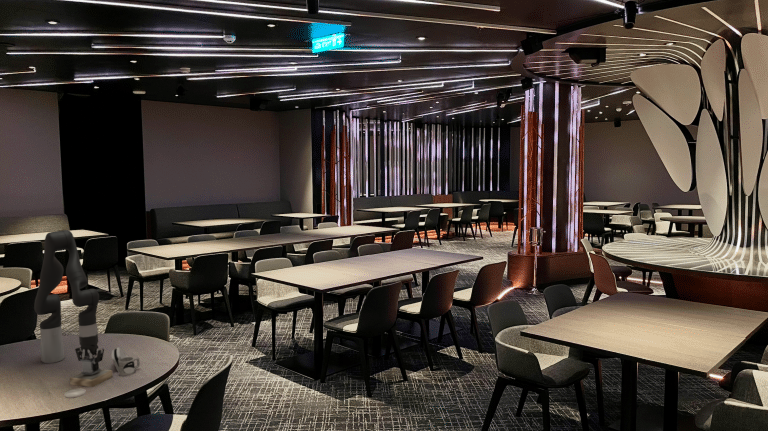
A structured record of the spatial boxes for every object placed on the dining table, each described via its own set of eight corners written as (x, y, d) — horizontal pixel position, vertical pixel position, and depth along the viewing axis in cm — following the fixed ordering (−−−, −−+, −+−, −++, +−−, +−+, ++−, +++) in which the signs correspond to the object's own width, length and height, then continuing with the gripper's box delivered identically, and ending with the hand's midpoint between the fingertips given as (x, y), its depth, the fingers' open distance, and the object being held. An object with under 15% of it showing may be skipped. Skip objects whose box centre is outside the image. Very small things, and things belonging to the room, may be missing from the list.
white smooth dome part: (60, 398, 238) (59, 395, 238) (74, 390, 246) (74, 387, 246) (76, 399, 236) (75, 396, 236) (90, 391, 244) (90, 389, 244)
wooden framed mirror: (70, 384, 251) (70, 377, 251) (90, 374, 263) (90, 368, 262) (93, 387, 248) (92, 380, 248) (112, 376, 260) (112, 370, 259)
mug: (124, 376, 260) (123, 362, 259) (116, 374, 263) (115, 360, 262) (144, 369, 268) (143, 356, 267) (135, 367, 272) (134, 353, 271)
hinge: (129, 370, 267) (120, 352, 265) (119, 375, 266) (110, 357, 264) (130, 359, 283) (122, 341, 281) (121, 363, 281) (112, 346, 279)
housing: (81, 374, 253) (79, 358, 252) (90, 369, 259) (89, 353, 258) (91, 375, 252) (90, 359, 251) (100, 370, 257) (99, 354, 256)
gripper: (68, 335, 252) (71, 372, 253) (95, 337, 248) (98, 374, 250) (81, 330, 259) (84, 366, 260) (107, 332, 255) (110, 368, 257)
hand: (91, 370), depth 255 cm, fingers closed on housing, 4 cm apart
